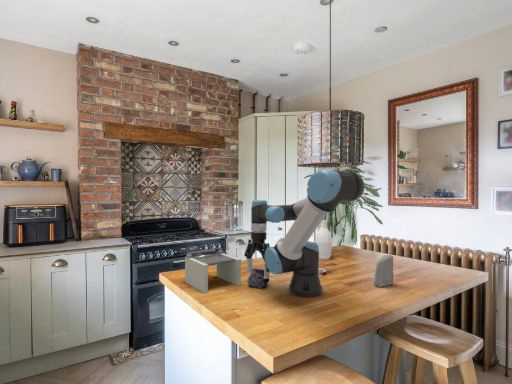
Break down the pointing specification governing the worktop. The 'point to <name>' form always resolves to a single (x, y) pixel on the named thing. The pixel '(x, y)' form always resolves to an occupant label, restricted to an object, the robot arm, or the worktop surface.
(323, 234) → the bottle
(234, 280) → the frame
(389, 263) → the decorative stone
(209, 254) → the trapdoor
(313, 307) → the worktop surface
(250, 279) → the rock
